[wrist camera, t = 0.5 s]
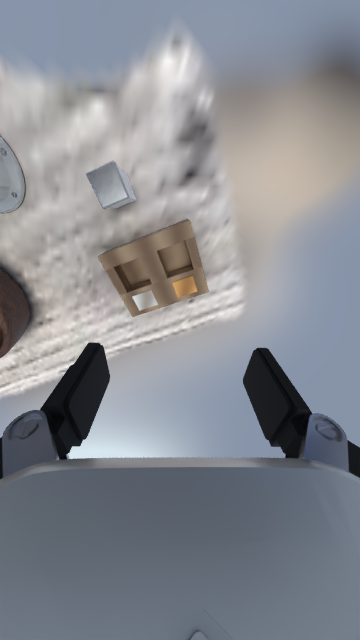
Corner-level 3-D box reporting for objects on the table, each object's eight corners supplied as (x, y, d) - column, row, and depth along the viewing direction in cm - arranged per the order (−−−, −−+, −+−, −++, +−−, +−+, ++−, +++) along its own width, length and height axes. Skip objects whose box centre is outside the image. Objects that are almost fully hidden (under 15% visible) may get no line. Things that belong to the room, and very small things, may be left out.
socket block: (136, 306, 43) (132, 317, 39) (106, 251, 36) (96, 256, 32) (204, 283, 41) (209, 292, 37) (187, 219, 34) (189, 220, 29)
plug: (116, 209, 32) (102, 208, 26) (104, 182, 30) (85, 173, 24) (137, 200, 32) (128, 197, 25) (126, 172, 30) (113, 160, 23)
